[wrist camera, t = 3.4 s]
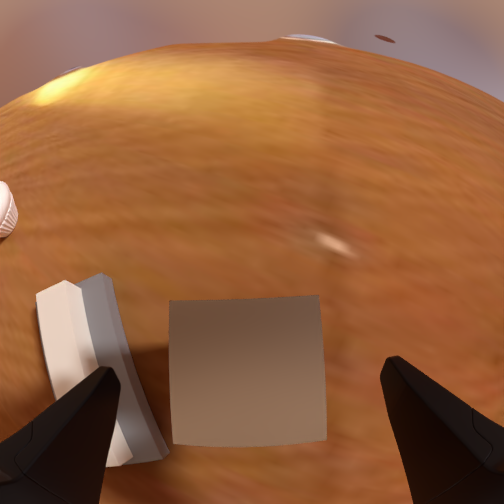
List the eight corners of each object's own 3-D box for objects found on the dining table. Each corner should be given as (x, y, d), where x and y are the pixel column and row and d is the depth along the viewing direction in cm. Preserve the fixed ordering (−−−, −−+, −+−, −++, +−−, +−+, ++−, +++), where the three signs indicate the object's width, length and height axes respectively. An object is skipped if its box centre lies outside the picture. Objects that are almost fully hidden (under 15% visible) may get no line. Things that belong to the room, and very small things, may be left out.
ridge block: (169, 452, 14) (152, 469, 11) (92, 462, 13) (66, 474, 10) (111, 278, 18) (87, 262, 15) (46, 306, 17) (19, 295, 14)
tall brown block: (285, 393, 15) (326, 440, 6) (221, 395, 15) (173, 443, 6) (282, 332, 17) (318, 294, 7) (219, 334, 17) (169, 300, 7)
